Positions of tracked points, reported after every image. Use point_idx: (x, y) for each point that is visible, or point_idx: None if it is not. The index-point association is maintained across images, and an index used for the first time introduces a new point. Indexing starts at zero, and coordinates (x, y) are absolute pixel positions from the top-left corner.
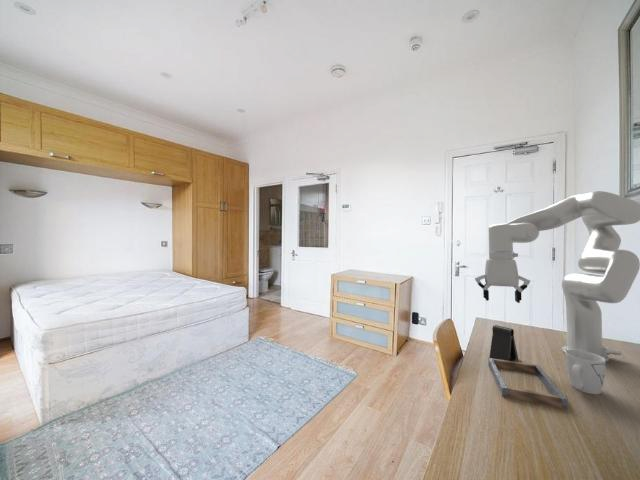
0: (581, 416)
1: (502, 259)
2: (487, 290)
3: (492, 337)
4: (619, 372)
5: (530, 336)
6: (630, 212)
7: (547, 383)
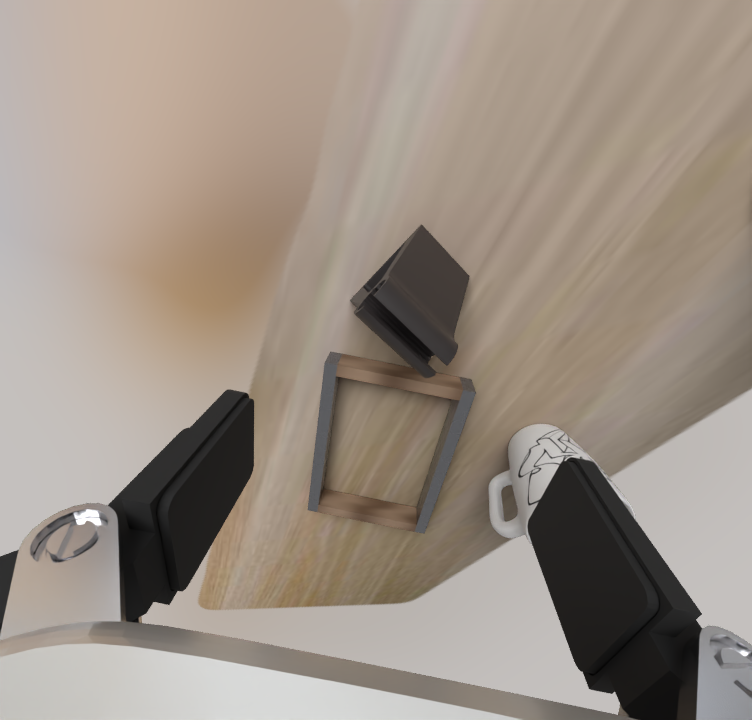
0: (432, 530)
1: None
2: (161, 600)
3: (358, 304)
4: None
5: None
6: None
7: (433, 470)
